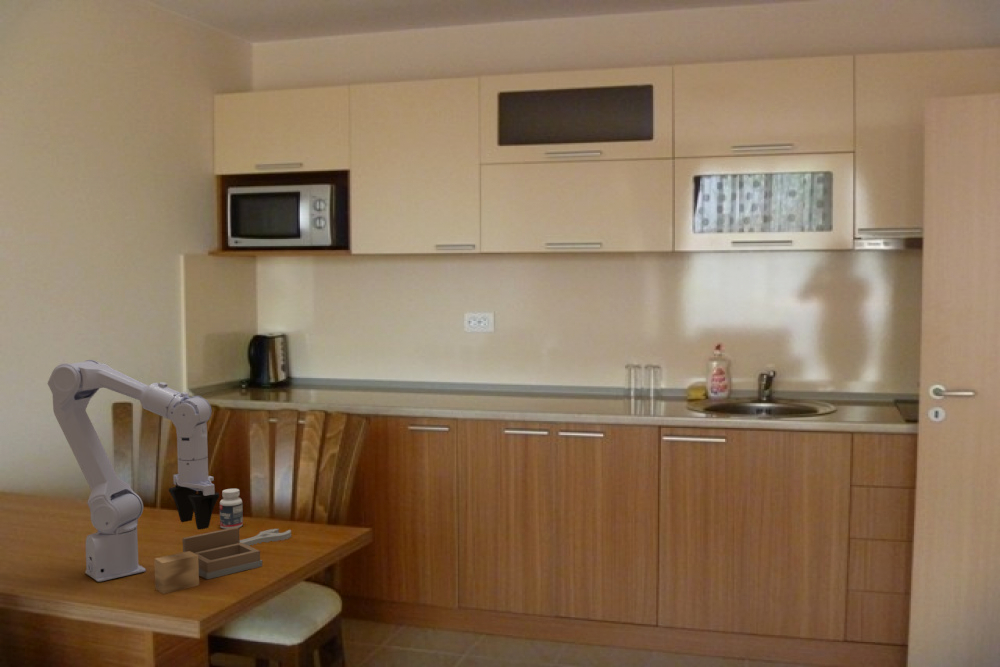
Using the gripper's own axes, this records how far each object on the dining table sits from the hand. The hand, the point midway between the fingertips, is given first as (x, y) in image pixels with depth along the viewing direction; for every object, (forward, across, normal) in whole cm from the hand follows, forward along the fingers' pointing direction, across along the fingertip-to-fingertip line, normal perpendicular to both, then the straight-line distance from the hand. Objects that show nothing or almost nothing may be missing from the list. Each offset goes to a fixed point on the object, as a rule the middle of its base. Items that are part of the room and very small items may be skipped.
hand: (194, 524), depth 178 cm
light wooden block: (+10, -4, +6) cm, 12 cm away
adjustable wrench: (+11, +12, -16) cm, 23 cm away
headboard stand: (+10, +2, -6) cm, 12 cm away
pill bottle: (+11, +28, -22) cm, 37 cm away
